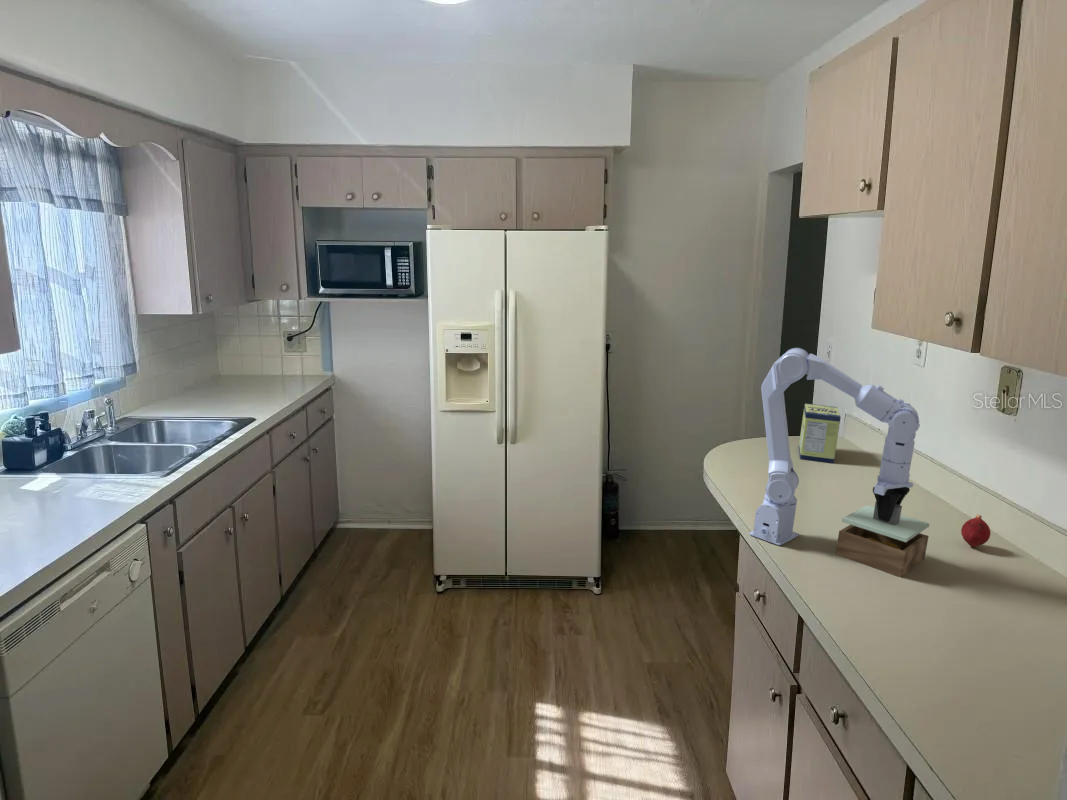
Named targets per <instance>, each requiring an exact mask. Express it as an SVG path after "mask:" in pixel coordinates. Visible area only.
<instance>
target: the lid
mask: <svg viewBox="0 0 1067 800" xmlns="http://www.w3.org/2000/svg"><path fill="white" fill-rule="evenodd" d="M902 508H903V505H901V504H900V505H897V504H896V505H895V507H894V510H893V513H892V516H891V518H890V520H889V521H888V522H887V521H884V520H880V519H879V518H878V509H877V502H876V501H875V503H874V506H873V505H869V504H866V505H865V506H862V507H861V508H859V509H857V510H856V511H853V512H852V513H849V514H848V515H846V516H844V517H842V518H841V523H844V524H848V525H854V526H857V527H860V528H863V529H866V530H869V531H872V532H875V533H879V534H882V535H885V536H888V537H891V538H894V539H897V540H901V541H904V542H907V541H909V540H910V539H912V538H913V537H915V536H916V535H917V534H919V533H922V532H924V531H925V530H927V529H928V528H929V527H930V522H928V521H924V520H920V519H916V518H913V517H910V516H907V515H903V514H902Z"/></svg>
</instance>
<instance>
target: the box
mask: <svg viewBox="0 0 1067 800" xmlns="http://www.w3.org/2000/svg"><path fill="white" fill-rule="evenodd" d="M929 537H930V536H929V535H927V534H923V533H922V532H920V533H919V534H917V535H916V536H915V537H913V538H912V539H910V540H909V541H907V542H904V541H901V540H897V539H894V538H891V537H888V536H885V535H882V534H879V533H875V532H872V531H869V530H866V529H863V528H860V527H857V526H854V525H850V524H848V525H847V526H845V527H844V528H842V529H840V530H839V531H838V537H837V541H836V542H837V543H836V547H835V548H836V549H835V555H837V556H839V557H842V558H845V559H848V560H851V561H854V562H856V563H859V564H862V565H864V566H868V567H871V568H874V569H876V570H880V571H882V572H885V573H887V574H890V575H893V576H896V577H899V578H902V577H903V576H905V575H906V574H907V573H909V571H911V570H912V569H914V568H915V567H917V566H918V565H919V564H920V563H921V562H923V561H924V560H925V557H926V554H927V548H928V546H927V545H928V542H929ZM867 538H872V539H876V540H878V541H879V542H889V543H893V544H896V545H897V546H898V547H900V549H901V550H900V549H897V548H894V547H891V546H888V545H885V544H882V543H878V542H875V541H872V540H869V539H867Z"/></svg>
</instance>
